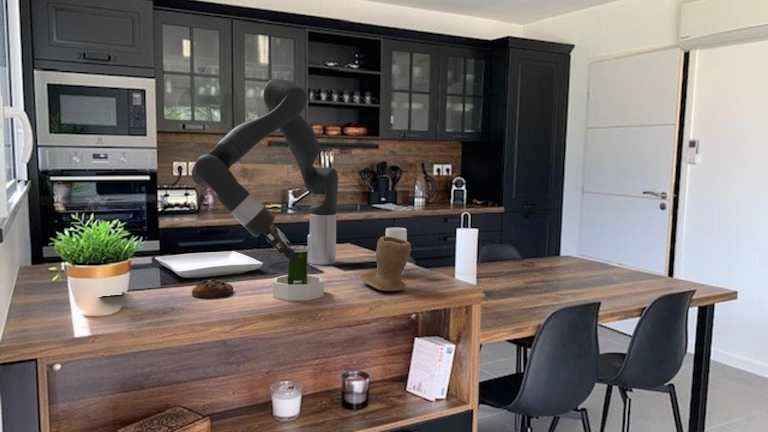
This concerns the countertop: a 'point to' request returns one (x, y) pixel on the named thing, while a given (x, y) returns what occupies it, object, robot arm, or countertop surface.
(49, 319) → the countertop surface
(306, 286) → the cream bowl
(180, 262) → the square plate
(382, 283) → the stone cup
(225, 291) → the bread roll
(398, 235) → the drinking glass
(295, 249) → the beer can
